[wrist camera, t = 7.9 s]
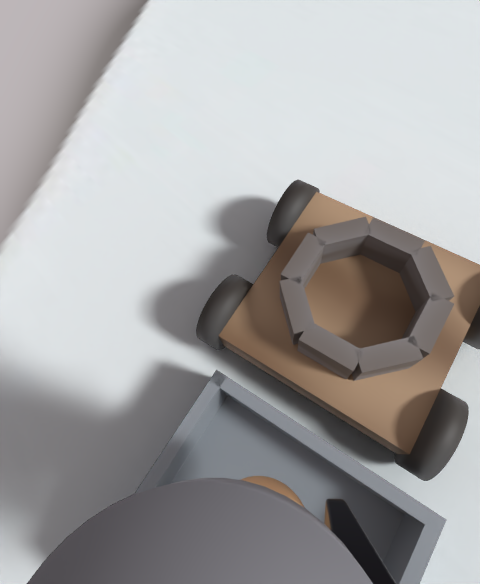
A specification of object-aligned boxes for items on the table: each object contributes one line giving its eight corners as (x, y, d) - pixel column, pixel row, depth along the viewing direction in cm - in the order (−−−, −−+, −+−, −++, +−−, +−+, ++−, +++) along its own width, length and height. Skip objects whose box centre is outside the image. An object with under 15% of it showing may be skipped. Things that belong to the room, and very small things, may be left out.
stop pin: (281, 643, 12) (273, 1500, 2) (173, 552, 14) (-144, 827, 4) (346, 513, 14) (531, 679, 3) (241, 439, 15) (151, 404, 5)
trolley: (410, 478, 19) (451, 486, 14) (204, 346, 22) (184, 319, 18) (493, 297, 22) (550, 255, 17) (300, 207, 25) (304, 152, 21)
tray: (300, 770, 15) (305, 854, 12) (98, 579, 18) (60, 606, 15) (417, 507, 18) (446, 519, 15) (226, 382, 21) (216, 369, 18)
